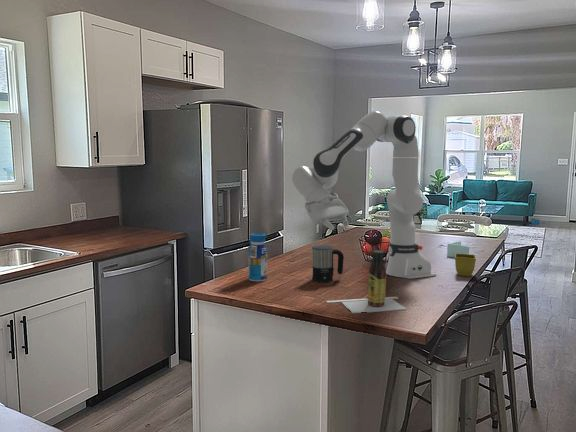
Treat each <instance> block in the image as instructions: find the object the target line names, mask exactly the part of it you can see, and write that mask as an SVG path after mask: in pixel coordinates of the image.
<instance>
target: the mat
mask: <svg viewBox="0 0 576 432" xmlns="http://www.w3.org/2000/svg"><path fill="white" fill-rule="evenodd" d="M341 304H342V305H343V306H344V307H345V308H346V309H347V310H348V309H349V310H350V311H351V312H350V313H351V314H362V313H361V312H367V313H377V312H378V313H379V312H393V311H407V308H406V307H405V306H403V305H401V303H398V302H397V301H395V299H385V301H384V305H383V306H379V307H376V306H371V305H369V304H368V301H352V302H341ZM349 310H348V311H349Z"/></svg>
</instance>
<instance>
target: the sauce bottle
mask: <svg viewBox="0 0 576 432" xmlns="http://www.w3.org/2000/svg"><path fill="white" fill-rule="evenodd" d="M371 253H372V261H371V265H370V267H369V271H368V272H367V273H368V274H367V275H368V277H367V298H368V304H369V305H371V306H376V307H379V306H383V305H384V301H385V297H386V284H387V280H386V279H387V277H386V275H387V274H386V270H387V268H386V267H385V265H384V256H385V251H383V250H381V249H380V250H379V249H375V250H373V251H372V252H371Z"/></svg>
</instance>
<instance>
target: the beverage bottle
mask: <svg viewBox="0 0 576 432" xmlns="http://www.w3.org/2000/svg"><path fill="white" fill-rule="evenodd" d="M249 242H250V244H249V246H248V248H247V251H248V254H247V259H248V277H247V279H248V280H249V281H250V282H264V281H266V280H268V275H267V274H268V253H267V251H268V247H267V246H266V233H261V232H256V233H255V232H253V233H250V234H249Z"/></svg>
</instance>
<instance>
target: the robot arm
mask: <svg viewBox="0 0 576 432" xmlns="http://www.w3.org/2000/svg"><path fill="white" fill-rule="evenodd" d="M416 131H417V128H416V123H415V120H414V119H413V118H412V117H410V116H408V115H390V116H385V115H384V114H383V113H382V112H380V111H378V110H373V111H372V110H371V111H370V112H369V113H366V114H365V115H364V116H363V117H362V118H361V119H360V120H358V121H357V122H356V123H355V124H354V125H353V126H352V127H351V129H349V130H348V131H347V132H346V133H344V134H343V135H342V136H341V137H339V139H337V141H335V142H334V143H333V144H331V146H329V147H328V148H326V149H323V150H321V151H320V152H318V153H316V155H315V156H314V157H313V161H312V163H313V166H305V165H301V166H299V167H297V169H295V170H294V172H293V173H292V177H291V180H292V183H293V186H294V187H295V189H296V190H297V192H298V194H300V195H301V196H302V197H303V198H304V200H305V204H304V208H305V209H306V212H307V214H308V217H309V218H310V219H311V221H312V222H313V224H316V225H317V224H322V225H324V226H325V227H326V228H328V229H329V231H333V230H335V229H336V226H335V225H334V224H333V223H331V221H337V220H339V221H342V226H343V227H344V228H347V227H349V226H350V223H349V221H348V217H347V216H348V215H349V214H350V211H349V209H348V207H347V206H346V205H345V203H344V202H343V201H342V199H340V198H339V195H338V194H337V193H336V192H331V191H329V189H331V188H333V187H335V186H336V185H337V182H338V178H339V171H340V170H339V168H340V165H341V161H342V159H344V157H345V156H346V155H347V154H348V153H349V152H351V151H352V150H354V151H357V152H365V151H367V150H368V149H370V148H371V147H372V146H373V145H374V144H375V143H376V141H377V142H381V143H384V142H385V143H391V144H392V145H393V151H392V168H391V169H392V173H391V174H392V175H391V176H392V178H393V182H394V189H392V190H390V191H389V192H388V193H387V195H386V203H387V207H388V215H389V225H390V232H389V233H390V239H389V241H390V242H389V243H388V255H389V256H388V263H387V267H386V275H389V276H391V277H396V278H404V279H410V280H411V279H418V278H428V277H429V278H430V277H436V276H437V272H436V271H434V270H433V269H432V265H431V261H430V260H429V259H428V258H427V257H425V256H424V255H423V254H422V253H421V252H419V250H420V251H422V250H424V246H423V245H421V244H417V243H416V229H417V227H416V224H415V221H414V217H413V216H414V215H415V214H417V213H419V212H420V211H422V209H423V207H424V200H423V198H422V195H421V187H420V182H419V181H420V180H419V143H418V139H417V136H416Z"/></svg>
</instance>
